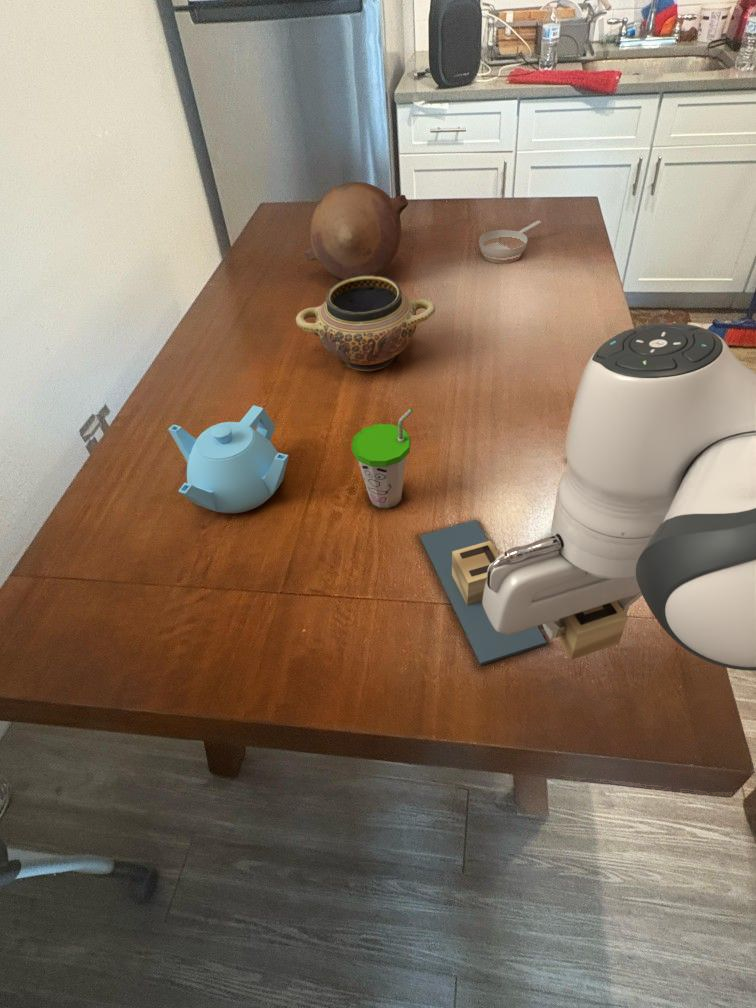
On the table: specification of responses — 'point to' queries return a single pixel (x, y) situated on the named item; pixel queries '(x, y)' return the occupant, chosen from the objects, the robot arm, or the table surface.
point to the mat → (473, 616)
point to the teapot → (232, 463)
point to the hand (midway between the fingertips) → (584, 621)
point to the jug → (356, 230)
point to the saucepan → (503, 251)
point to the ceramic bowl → (365, 321)
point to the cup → (383, 460)
